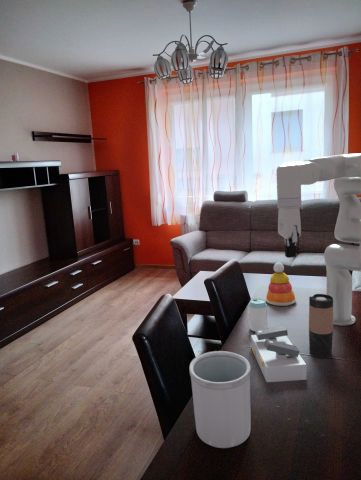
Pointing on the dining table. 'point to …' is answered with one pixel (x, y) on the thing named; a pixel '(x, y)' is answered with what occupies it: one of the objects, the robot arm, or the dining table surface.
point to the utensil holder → (221, 398)
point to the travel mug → (320, 325)
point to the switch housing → (278, 361)
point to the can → (257, 314)
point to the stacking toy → (280, 288)
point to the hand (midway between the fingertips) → (290, 256)
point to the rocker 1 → (271, 332)
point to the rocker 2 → (281, 348)
